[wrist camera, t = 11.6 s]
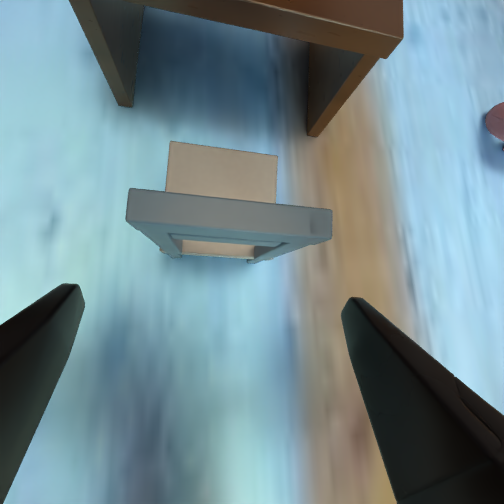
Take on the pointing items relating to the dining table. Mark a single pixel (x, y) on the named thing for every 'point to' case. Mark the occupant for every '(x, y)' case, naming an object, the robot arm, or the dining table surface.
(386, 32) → the desk
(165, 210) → the chair
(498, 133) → the video game controller
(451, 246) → the dining table surface
